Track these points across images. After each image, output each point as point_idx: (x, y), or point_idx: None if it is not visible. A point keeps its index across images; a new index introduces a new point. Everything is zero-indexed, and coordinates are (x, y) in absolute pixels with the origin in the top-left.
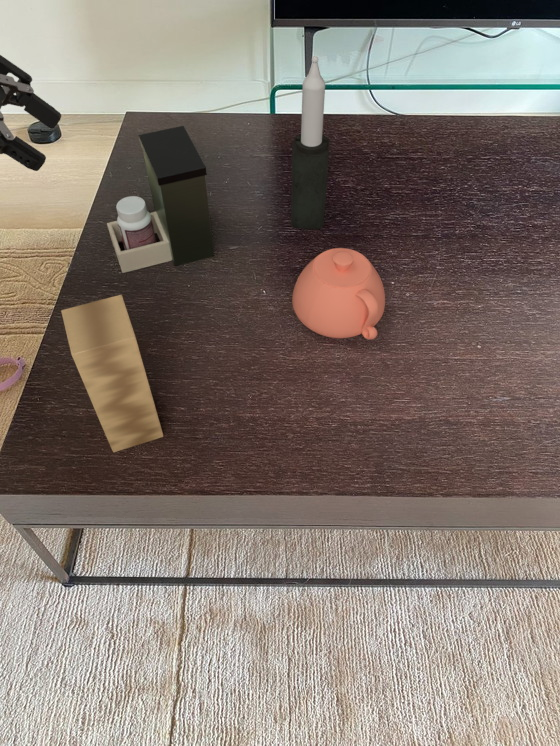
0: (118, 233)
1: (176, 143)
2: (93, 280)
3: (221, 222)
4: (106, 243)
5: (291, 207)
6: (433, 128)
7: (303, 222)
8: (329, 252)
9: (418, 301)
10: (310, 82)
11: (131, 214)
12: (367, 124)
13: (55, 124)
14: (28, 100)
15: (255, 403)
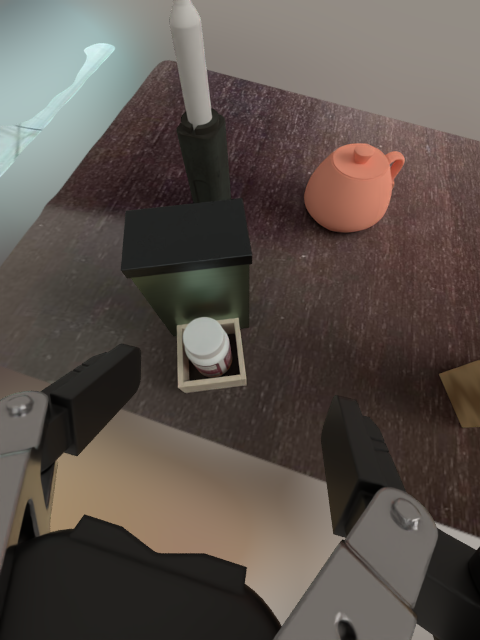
0: (186, 379)
1: (169, 223)
2: (250, 422)
3: None
4: (186, 400)
5: None
6: (132, 110)
7: None
8: (338, 164)
9: None
10: (191, 13)
11: (223, 337)
12: (101, 143)
13: (139, 371)
14: (64, 424)
15: (440, 286)
